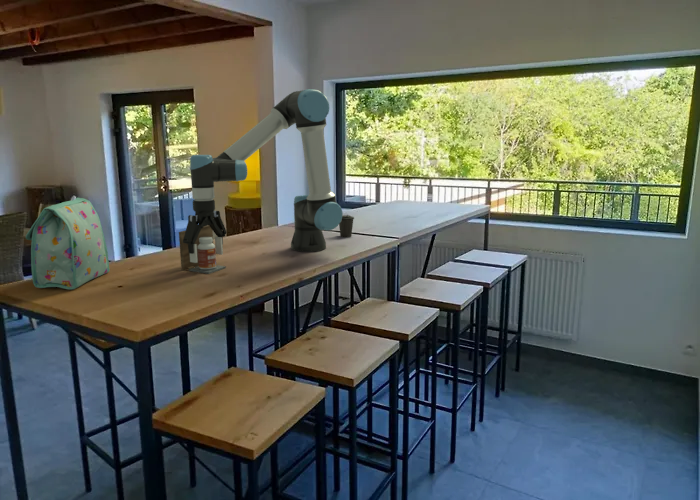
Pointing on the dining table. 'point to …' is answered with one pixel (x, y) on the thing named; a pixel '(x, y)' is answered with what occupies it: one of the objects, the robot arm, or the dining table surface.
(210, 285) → the dining table surface
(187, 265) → the wooden board
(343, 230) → the coffee cup
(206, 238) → the pill bottle
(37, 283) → the lunch bag
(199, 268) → the coaster
